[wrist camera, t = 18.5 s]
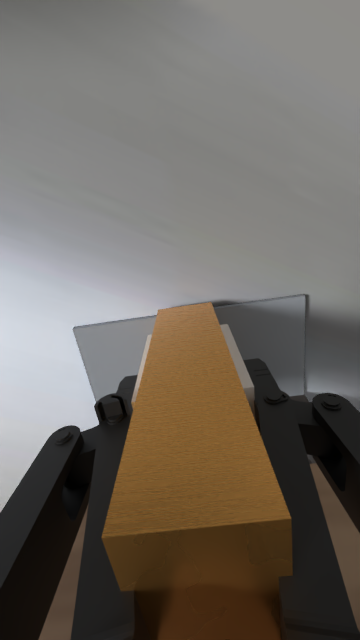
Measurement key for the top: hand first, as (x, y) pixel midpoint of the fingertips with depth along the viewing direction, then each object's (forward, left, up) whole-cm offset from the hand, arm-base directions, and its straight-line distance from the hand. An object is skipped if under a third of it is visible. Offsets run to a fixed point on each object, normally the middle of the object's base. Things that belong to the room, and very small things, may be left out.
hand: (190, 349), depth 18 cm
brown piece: (+10, 0, -1) cm, 10 cm away
